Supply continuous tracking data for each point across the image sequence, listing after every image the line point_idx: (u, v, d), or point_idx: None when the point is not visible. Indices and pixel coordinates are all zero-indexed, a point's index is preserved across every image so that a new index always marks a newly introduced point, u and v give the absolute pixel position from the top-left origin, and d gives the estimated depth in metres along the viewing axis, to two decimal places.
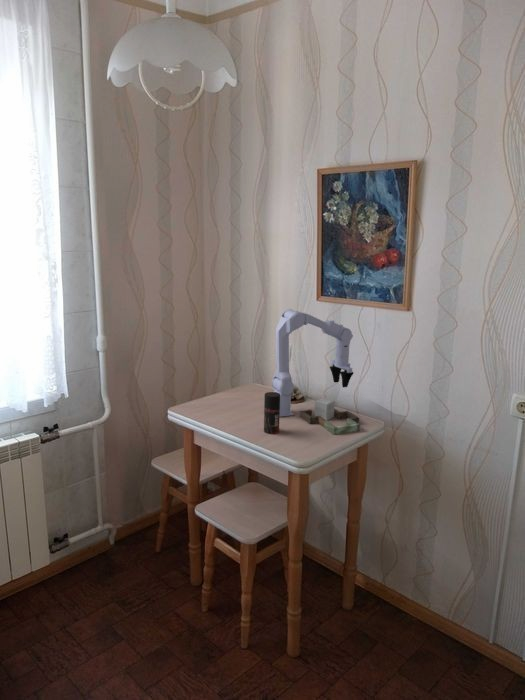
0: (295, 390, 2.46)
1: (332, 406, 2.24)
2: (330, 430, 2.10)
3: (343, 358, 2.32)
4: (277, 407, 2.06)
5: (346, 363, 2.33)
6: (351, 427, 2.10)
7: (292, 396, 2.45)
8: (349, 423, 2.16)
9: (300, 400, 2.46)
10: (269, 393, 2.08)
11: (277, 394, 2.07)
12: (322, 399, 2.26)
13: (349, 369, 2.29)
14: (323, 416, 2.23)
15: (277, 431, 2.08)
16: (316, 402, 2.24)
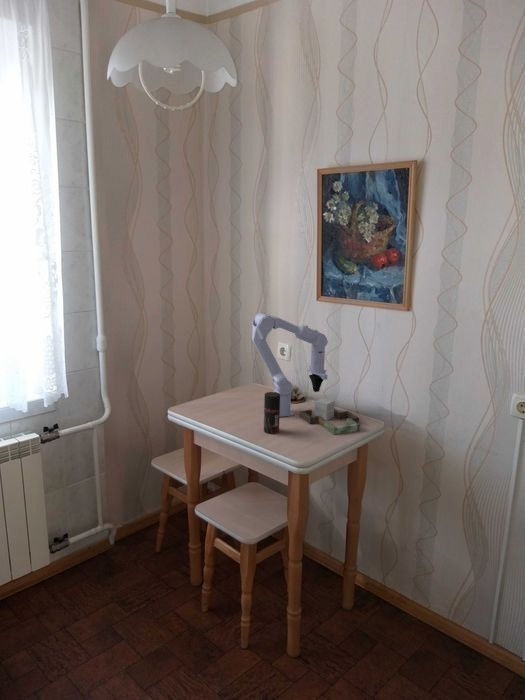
0: (296, 390, 2.45)
1: (332, 406, 2.24)
2: (330, 430, 2.10)
3: (319, 364, 2.26)
4: (277, 407, 2.06)
5: (321, 369, 2.27)
6: (351, 427, 2.10)
7: (293, 396, 2.45)
8: (349, 423, 2.16)
9: (301, 400, 2.45)
10: (269, 393, 2.08)
11: (277, 394, 2.07)
12: (322, 399, 2.26)
13: (324, 376, 2.23)
14: (323, 416, 2.23)
15: (277, 431, 2.08)
16: (316, 402, 2.24)
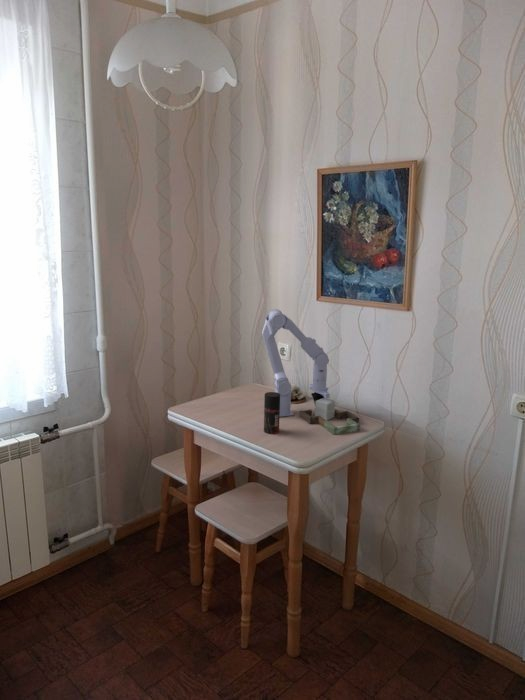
0: (296, 390, 2.45)
1: (333, 406, 2.24)
2: (330, 430, 2.10)
3: (321, 383, 2.25)
4: (277, 407, 2.06)
5: (324, 388, 2.27)
6: (351, 427, 2.10)
7: (293, 396, 2.45)
8: (349, 423, 2.16)
9: (301, 400, 2.45)
10: (269, 393, 2.08)
11: (277, 394, 2.07)
12: (322, 399, 2.26)
13: (326, 395, 2.23)
14: (323, 416, 2.23)
15: (277, 431, 2.08)
16: (316, 402, 2.24)
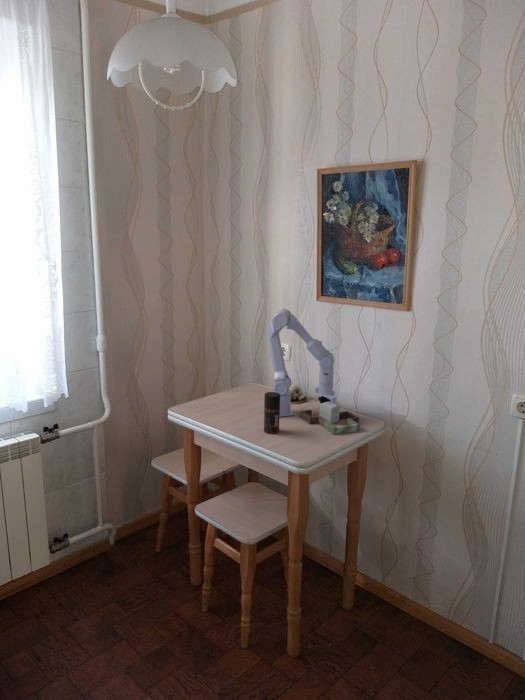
0: (297, 390, 2.45)
1: (338, 410, 2.20)
2: (330, 430, 2.10)
3: (327, 386, 2.20)
4: (277, 407, 2.06)
5: (330, 391, 2.22)
6: (351, 427, 2.10)
7: (294, 396, 2.44)
8: (349, 423, 2.16)
9: (302, 400, 2.45)
10: (269, 393, 2.08)
11: (277, 394, 2.07)
12: (328, 402, 2.22)
13: (333, 398, 2.18)
14: (327, 420, 2.19)
15: (277, 431, 2.08)
16: (321, 405, 2.20)
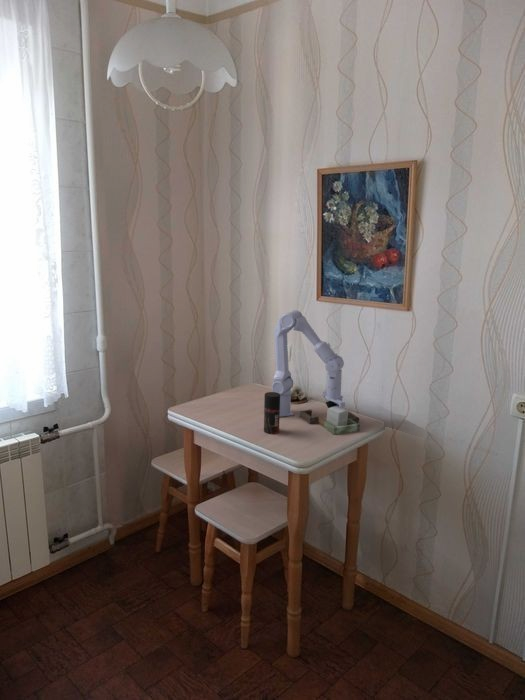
0: (298, 391, 2.45)
1: (345, 415, 2.14)
2: (330, 430, 2.10)
3: (335, 390, 2.15)
4: (277, 407, 2.06)
5: (338, 396, 2.16)
6: (351, 427, 2.10)
7: (295, 397, 2.44)
8: (349, 423, 2.16)
9: (303, 401, 2.45)
10: (269, 393, 2.08)
11: (277, 394, 2.07)
12: (335, 407, 2.16)
13: (341, 403, 2.12)
14: (334, 425, 2.13)
15: (277, 431, 2.08)
16: (328, 410, 2.14)
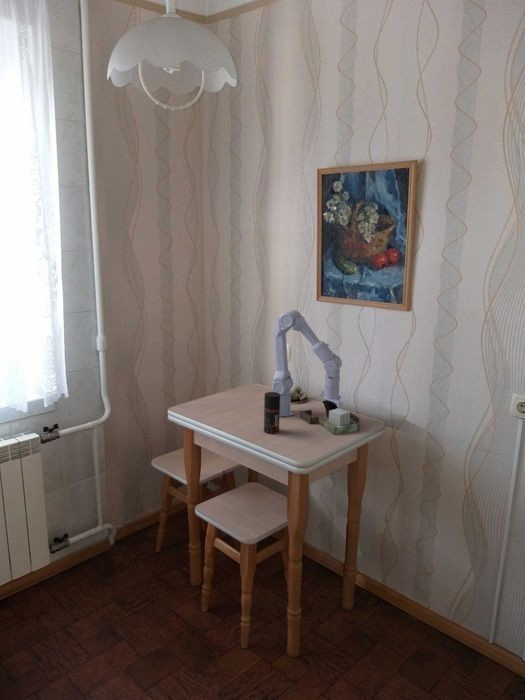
0: (298, 391, 2.45)
1: (347, 417, 2.12)
2: (330, 430, 2.10)
3: (333, 390, 2.16)
4: (277, 407, 2.06)
5: (336, 396, 2.17)
6: (351, 427, 2.10)
7: (295, 397, 2.44)
8: None
9: (303, 401, 2.45)
10: (269, 393, 2.08)
11: (277, 394, 2.07)
12: (337, 409, 2.14)
13: (339, 403, 2.13)
14: None
15: (277, 431, 2.08)
16: (330, 412, 2.12)
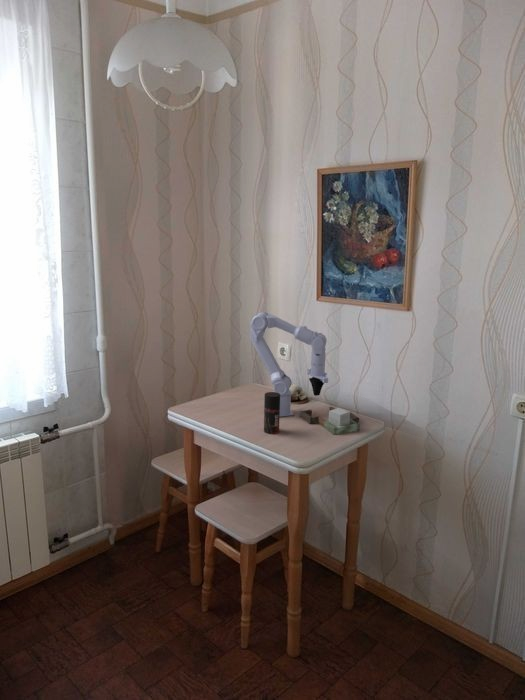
0: (299, 391, 2.45)
1: (347, 417, 2.12)
2: (330, 430, 2.10)
3: (319, 367, 2.19)
4: (277, 407, 2.06)
5: (322, 372, 2.20)
6: (351, 427, 2.10)
7: (296, 397, 2.44)
8: None
9: (304, 401, 2.45)
10: (269, 393, 2.08)
11: (277, 394, 2.07)
12: (337, 409, 2.14)
13: (325, 379, 2.16)
14: None
15: (277, 431, 2.08)
16: (330, 412, 2.12)
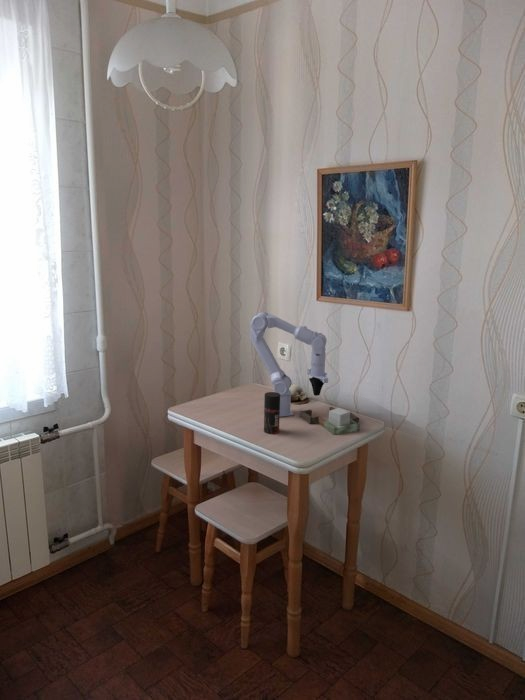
0: (299, 391, 2.44)
1: (347, 417, 2.12)
2: (330, 430, 2.10)
3: (319, 367, 2.19)
4: (277, 407, 2.06)
5: (322, 372, 2.20)
6: (351, 427, 2.10)
7: (296, 397, 2.44)
8: None
9: (304, 401, 2.45)
10: (269, 393, 2.08)
11: (277, 394, 2.07)
12: (337, 409, 2.14)
13: (325, 379, 2.16)
14: None
15: (277, 431, 2.08)
16: (330, 412, 2.12)
